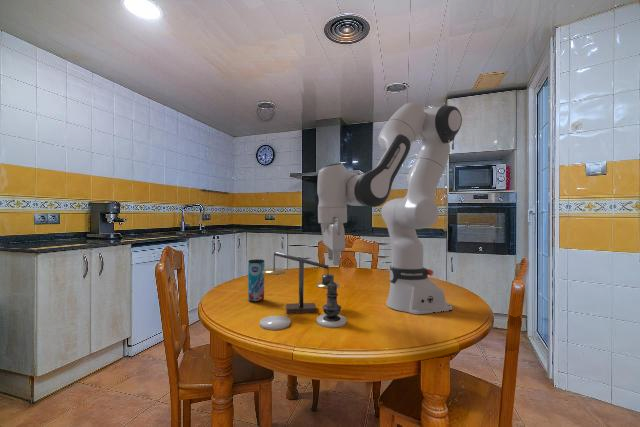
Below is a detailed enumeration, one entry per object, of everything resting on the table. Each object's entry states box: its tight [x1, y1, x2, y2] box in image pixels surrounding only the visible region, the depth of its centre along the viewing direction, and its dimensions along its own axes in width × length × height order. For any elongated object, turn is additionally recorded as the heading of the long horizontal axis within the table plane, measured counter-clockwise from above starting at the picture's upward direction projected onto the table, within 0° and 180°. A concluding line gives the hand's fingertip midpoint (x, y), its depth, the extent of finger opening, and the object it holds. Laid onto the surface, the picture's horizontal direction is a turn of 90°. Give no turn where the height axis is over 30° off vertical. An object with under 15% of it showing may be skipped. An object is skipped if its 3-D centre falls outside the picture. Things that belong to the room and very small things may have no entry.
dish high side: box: [259, 315, 291, 331], centre depth 91 cm, size 9×9×1 cm
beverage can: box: [247, 259, 265, 303], centre depth 115 cm, size 6×6×15 cm
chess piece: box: [321, 280, 342, 322], centre depth 94 cm, size 6×6×12 cm
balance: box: [262, 251, 340, 315], centre depth 104 cm, size 26×8×20 cm, turn 97°
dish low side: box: [316, 313, 347, 328], centre depth 94 cm, size 9×9×1 cm
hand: (333, 262), depth 94 cm, fingers open, 8 cm apart
